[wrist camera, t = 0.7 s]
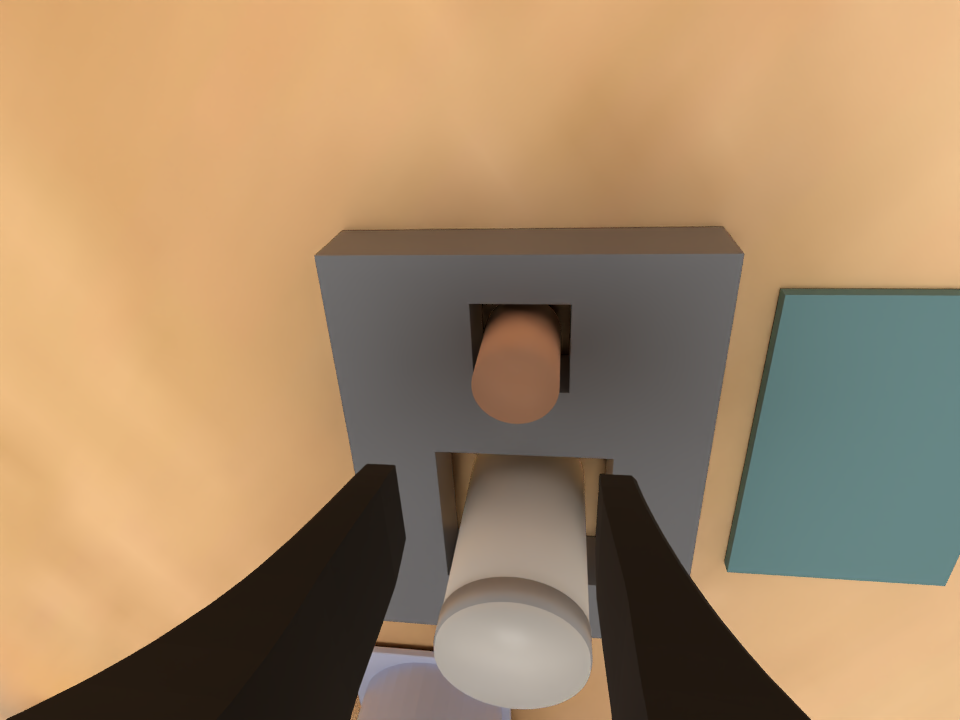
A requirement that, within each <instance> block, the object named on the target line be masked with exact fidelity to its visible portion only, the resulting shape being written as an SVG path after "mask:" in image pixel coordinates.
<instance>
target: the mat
mask: <svg viewBox="0 0 960 720" xmlns="http://www.w3.org/2000/svg"><path fill="white" fill-rule="evenodd" d="M959 555H960V289H780V294H779V299H778V304H777V309H776V314H775V319H774V323H773V328H772V333H771V338H770V343H769V348H768V353H767V358H766V362H765V367H764V372H763V377H762V382H761V387H760V392H759V396H758V401H757V406H756V411H755V416H754V421H753V426H752V431H751V435H750V440H749V445H748V450H747V455H746V460H745V465H744V469H743V474H742V479H741V484H740V489H739V494H738V499H737V504H736V508H735V513H734V518H733V523H732V528H731V533H730V538H729V543H728V547H727V552H726V557H725V562H724V563H725V566H726V570H727V572H735V573H751V574H766V575H782V576H797V577H813V578H828V579H844V580H860V581H875V582H891V583H906V584H922V585H937V586H945V585H946V583H947V581H948V579H949V577H950V575H951V572H952V570H953V568H954V566H955V564H956V562H957V559H958V557H959Z"/></svg>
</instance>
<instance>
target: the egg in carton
mask: <svg viewBox="0 0 960 720" xmlns="http://www.w3.org/2000/svg"><path fill="white" fill-rule="evenodd" d="M560 350H561V326H560V322H559V319H558V317H557V315H556V313H555V312H554V311H553V309H552V308H551V307H550V306H548V305H547V304H499V305H498V306H496V307H495V308H494V310H493V311H492V312H491V314H490V316H489V318H488V321H487V325H486V328H485V332H484V336H483V339H482V343H481V346H480V350H479V354H478V357H477V361H476V365H475V368H474V372H473V375H472V381H471V388H472V393H473V396H474V398H475V401H476V402H477V404H478V405H479V406H480V408H481V409H482V410H483V411H484V412H485V413H487V414H488V415H489V416H491V417H493V418H495V419H497V420H499V421H502V422H506V423H511V424H524V423H529V422H533V421H536V420H538V419H540V418H542V417H543V416H545V415H546V414H547V413H548V412H550V410H551V409H552V408H553V407H554V405H555V404H556V402H557V399H558V396H559V389H560Z"/></svg>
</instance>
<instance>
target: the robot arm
mask: <svg viewBox="0 0 960 720" xmlns="http://www.w3.org/2000/svg"><path fill="white" fill-rule="evenodd" d="M405 541H406V534H405V527H404V520H403V514H402V507H401V500H400V493H399V486H398V479H397V473H396V466H395V465H387V464H366V465H365V466H364V467H363V468H362V469H361V470H360V471H359V472H358V473H357V474H356V475H355V476H354V477H353V478H352V479H351V480H350V481H349V482H348V483H347V484H346V485H345V486H344V487H343V488H342V489H341V490H340V491H339V492H338V493H337V494H336V495H335V496H334V497H333V498H332V499H331V500H330V501H329V502H328V503H327V504H326V505H325V506H324V507H323V508H322V509H321V510H320V511H319V512H318V513H317V514H316V515H315V516H314V517H313V518H312V519H311V520H310V521H309V522H308V523H307V524H306V525H305V526H304V527H302V528H301V529H300V530H299V531H298V532H297V533H296V534H295V535H294V536H293V537H292V538H291V539H290V540H289V541H287V542H286V543H285V544H284V545H283V546H282V547H281V548H280V549H278V550H277V551H276V552H275V553H274V554H273V555H272V556H270V557H269V558H268V559H267V560H266V561H265V562H264V563H263V564H261V565H260V566H259V567H258V568H257V569H255V570H254V571H253V572H252V573H251V574H249V575H248V576H247V577H246V578H244V579H243V580H242V581H241V582H239V583H238V584H237V585H235V586H234V587H233V588H231V589H230V590H229V591H227V592H226V593H225V594H223V595H222V596H221V597H219V598H218V599H217V600H215V601H214V602H212V603H211V604H209V605H208V606H207V607H205V608H204V609H202V610H201V611H199V612H198V613H196V614H195V615H193V616H192V617H190V618H189V619H187V620H186V621H184V622H183V623H181V624H179V625H178V626H176V627H175V628H173V629H172V630H170V631H169V632H167V633H166V634H164V635H163V636H161V637H160V638H158V639H157V640H155V641H153V642H152V643H150V644H148V645H147V646H145V647H143V648H142V649H140V650H138V651H137V652H135V653H133V654H131V655H130V656H128V657H126V658H125V659H123V660H121V661H119V662H117V663H116V664H114V665H112V666H110V667H109V668H107V669H105V670H103V671H101V672H100V673H98V674H96V675H94V676H92V677H90V678H88V679H87V680H85V681H83V682H81V683H79V684H77V685H75V686H73V687H71V688H69V689H67V690H65V691H63V692H61V693H59V694H57V695H55V696H53V697H51V698H49V699H47V700H45V701H43V702H41V703H39V704H37V705H35V706H33V707H31V708H29V709H27V710H25V711H23V712H21V713H18V714H16V715H14V716H12V717H10V718H8V719H6V720H350V718H351V715H352V711H353V708H354V705H355V701H356V698H357V695H359V700H360V704H361V708H360V712H359V715H358V718H357V720H511V708H504V707H499V706H494V705H491V704H487V703H484V702H482V701H479V700H477V699H474V698H472V697H470V696H468V695H466V694H465V693H463V692H461V691H460V690H458V689H457V688H456V687H454V686H453V685H452V684H451V683H450V682H449V681H448V680H447V679H446V678H445V677H444V676H443V674H442V673H441V671H440V670H439V668H438V666H437V664H436V661H435V657H434V651H425V650H413V649H402V648H390V647H379V646H375V643H376V641H377V638H378V635H379V632H380V629H381V626H382V624H383V621H384V618H385V615H386V612H387V609H388V606H389V604H390V601H391V598H392V595H393V592H394V589H395V586H396V582H397V578H398V574H399V569H400V565H401V560H402V556H403V551H404V546H405ZM595 568H596V600H597V607H598V615H599V623H600V630H601V638H602V646H603V653H604V661H605V668H606V676H607V683H608V690H609V698H610V705H611V713H612V720H811V719H810V718H809V717H808V716H807V715H806V714H805V713H804V712H803V711H802V710H801V709H800V708H799V707H798V706H797V705H796V704H795V703H794V701H793V700H792V699H791V698H790V697H789V696H788V695H787V694H786V693H785V692H784V691H783V690H782V689H781V688H780V687H779V686H778V685H777V684H776V683H775V682H774V681H773V680H772V679H771V678H770V677H769V676H768V674H767V673H766V672H765V671H764V670H763V669H762V668H761V667H760V665H759V664H758V663H757V662H756V661H755V660H754V659H753V657H752V656H751V655H750V654H749V653H748V652H747V650H746V649H745V648H744V647H743V646H742V645H741V643H740V642H739V641H738V640H737V639H736V637H735V636H734V635H733V634H732V632H731V631H730V630H729V629H728V628H727V626H726V625H725V624H724V623H723V621H722V620H721V619H720V617H719V616H718V615H717V613H716V612H715V611H714V609H713V608H712V607H711V605H710V604H709V603H708V601H707V600H706V599H705V597H704V596H703V594H702V593H701V592H700V590H699V589H698V587H697V586H696V584H695V583H694V582H693V580H692V579H691V577H690V576H689V574H688V573H687V571H686V570H685V568H684V567H683V565H682V564H681V562H680V560H679V559H678V557H677V556H676V554H675V552H674V551H673V549H672V547H671V546H670V544H669V543H668V541H667V539H666V538H665V536H664V534H663V533H662V531H661V529H660V527H659V525H658V524H657V522H656V520H655V518H654V516H653V514H652V513H651V511H650V509H649V507H648V505H647V503H646V501H645V498H644V496H643V494H642V492H641V490H640V487H639V485H638V482H637V480H636V479H635V478H634V477H633V476H632V475H613V474H600V476H599V493H598V509H597V526H596V542H595Z"/></svg>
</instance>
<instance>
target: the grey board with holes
mask: <svg viewBox="0 0 960 720" xmlns="http://www.w3.org/2000/svg"><path fill="white" fill-rule="evenodd" d="M314 257H315V262H316V267H317V273H318V278H319V283H320V289H321V294H322V299H323V305H324V310H325V315H326V321H327V326H328V331H329V336H330V342H331V347H332V352H333V358H334V363H335V368H336V374H337V379H338V384H339V390H340V395H341V400H342V406H343V411H344V416H345V422H346V427H347V432H348V437H349V443H350V448H351V453H352V459H353V464H354V469H355V475H356V474H357V473H358V472H359V471H360V470H361V469H362V468H363V467H364V466H365V465H366V464H387V465H395V466H396V473H397V479H398V486H399V493H400V500H401V507H402V514H403V520H404V527H405V534H406V541H405V546H404V551H403V556H402V560H401V565H400V569H399V574H398V578H397V582H396V586H395V589H394V592H393V595H392V598H391V601H390V604H389V606H388V609H387V612H386V615H385V618H384V621H393V622H406V623H418V624H430V625H437V622H438V618H439V613H440V610H441V607H442V605H443V603H444V598H445V594H446V589H447V585H448V580H449V575H450V571H451V566H452V562H453V557H454V552H455V548H456V543H457V539H458V534H459V529H458V523H457V512H456V500H455V489H454V478H453V467H452V455H451V452H455V453H479V454H504V455H528V456H553V457H577V458H602V459H606V474H613V475H632V476H633V477H634V478H635V479H636V480H637V482H638V485H639V487H640V490H641V492H642V494H643V496H644V498H645V501H646V503H647V505H648V507H649V509H650V511H651V513H652V514H653V516H654V518H655V520H656V522H657V524H658V525H659V527H660V529H661V531H662V533H663V534H664V536H665V538H666V539H667V541H668V543H669V544H670V546H671V547H672V549H673V551H674V552H675V554H676V556H677V557H678V559H679V560H680V562H681V564H682V565H683V567H684V568H685V570H686V571H687V573H688V574H689V576H690V572H691V566H692V560H693V554H694V548H695V542H696V536H697V530H698V525H699V519H700V513H701V507H702V501H703V495H704V489H705V483H706V477H707V471H708V466H709V460H710V454H711V448H712V442H713V436H714V430H715V424H716V418H717V412H718V406H719V401H720V395H721V389H722V383H723V377H724V371H725V365H726V359H727V353H728V347H729V342H730V336H731V330H732V324H733V318H734V312H735V306H736V300H737V294H738V288H739V282H740V277H741V271H742V265H743V259H744V253H743V251H742V250H741V249H740V247H739V246H738V245H737V244H736V242H735V241H734V240H733V239H732V237H731V236H730V235H729V233H728V232H727V231H726V230H725V228H724V227H647V228H550V229H453V230H357V231H341V232H340V233H339V234H338V235H337V236H336V237H335V238H333V239H332V240H331V241H330V242H329V243H328V244H327V245H326V246H325V247H323V248H322V249H321V250H320V251H319V252H318V253H317V254H316V255H314ZM481 304H567V305H571V310H570V348H569V355H560V389H559V396H558V399H557V402H556V404H555V405H554V407H553V408H552V409H551V410H550V412H548V413H547V414H546V415H545V416H543V417H542V418H540V419H538V420H536V421H533V422H529V423H524V424H511V423H506V422H502V421H499V420H497V419H495V418H493V417H491V416H489V415H488V414H487V413H485V412H484V411H483V410H482V409H481V408H480V406H479V405H478V404H477V402H476V401H475V398H474V396H473V393H472V388H471V381H472V375H473V372H474V368H475V365H476V361H477V357H478V354H479V350H480V346H481V343H482V339H483V326H482V307H481ZM595 542H596V537H590V536H586V545H587V574H588V602H589V623H590V627H591V637H592V638H601V630H600V623H599V615H598V607H597V600H596V568H595Z"/></svg>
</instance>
